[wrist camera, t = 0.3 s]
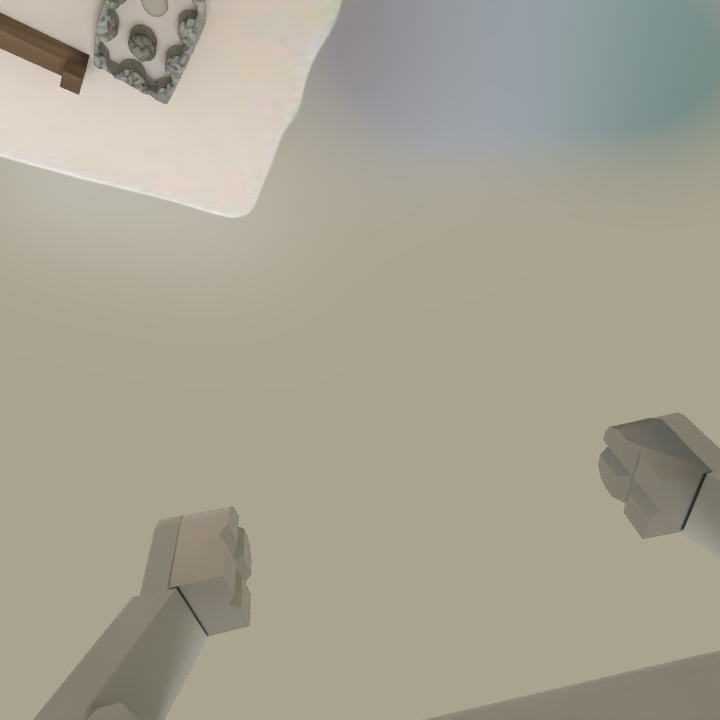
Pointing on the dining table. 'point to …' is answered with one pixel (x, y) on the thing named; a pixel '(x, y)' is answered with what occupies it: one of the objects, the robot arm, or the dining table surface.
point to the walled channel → (44, 52)
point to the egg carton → (148, 47)
